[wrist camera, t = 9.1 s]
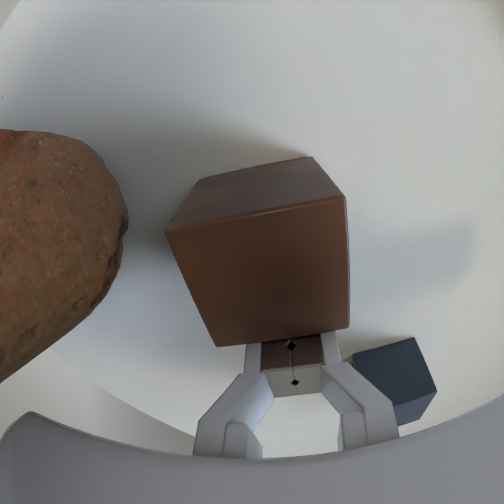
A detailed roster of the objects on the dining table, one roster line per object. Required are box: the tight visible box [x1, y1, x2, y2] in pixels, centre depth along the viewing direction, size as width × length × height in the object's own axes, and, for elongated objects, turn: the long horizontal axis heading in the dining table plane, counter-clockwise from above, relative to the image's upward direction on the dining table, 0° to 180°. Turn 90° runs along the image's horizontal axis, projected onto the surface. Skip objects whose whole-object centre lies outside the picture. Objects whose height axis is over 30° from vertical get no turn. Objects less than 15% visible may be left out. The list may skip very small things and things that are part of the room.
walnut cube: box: [165, 157, 350, 347], centre depth 9 cm, size 4×4×4 cm
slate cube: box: [352, 338, 437, 427], centre depth 14 cm, size 4×4×4 cm
